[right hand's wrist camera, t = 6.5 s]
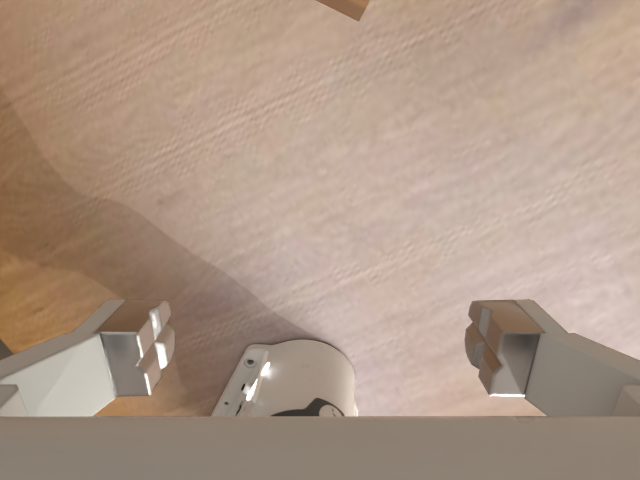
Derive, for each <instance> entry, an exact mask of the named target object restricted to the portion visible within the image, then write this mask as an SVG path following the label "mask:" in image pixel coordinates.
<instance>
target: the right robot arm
mask: <svg viewBox="0 0 640 480" xmlns="http://www.w3.org/2000/svg"><path fill="white" fill-rule="evenodd" d="M171 315H172V314H171V309H170V304H169V303H168V302H167V301H166V300H128V299H121V300H107V301H105V302H104V303H103V304H102V305H101V306H100V307H99V308H98V309H97V310H96V311H95V312H94V313H93V314H92V315H90V316H89V317H88V318H87V319H86V320H85V321H84V322H83V323H82V324H81V325H80V326H79V327H78V328H77V329H75V330H74V331H73V332H72V333H65V334H62V335H60V336H58V337H55V338H53V339H50V340H48V341H46V342H43V343H41V344H38V345H36V346H34V347H31V348H29V349H26V350H24V351H22V352H19V353H17V354H15V355H12V356H10V357H7V358H5V359H3V360H0V480H640V360H637V359H635V358H633V357H630V356H628V355H625V354H623V353H621V352H618V351H616V350H613V349H611V348H609V347H606V346H604V345H602V344H599V343H597V342H594V341H592V340H590V339H587V338H585V337H582V336H580V335H578V334H575V333H568V332H567V331H566V330H565V329H564V328H562V327H561V326H560V325H559V324H558V323H557V322H556V321H555V320H554V319H553V318H552V317H551V316H550V315H549V314H547V313H546V312H545V311H544V310H543V309H542V308H541V307H540V306H539V305H538V304H537V303H536V302H535V301H533V300H530V299H523V300H484V301H472V303H471V305H470V308H469V314H468V315H469V317H470V318H471V320H472V321H473V323H472V324H471V325H470V326H469V327H468V328H467V329H466V333H465V350H466V353H467V356H468V359H469V361H470V363H471V364H472V365H473V366H475V367H476V368H478V369H479V376H478V377H479V378H480V380H481V382H482V384H483V385H484V387H485V389H486V390H487V392H488V394H489V396H519V397H525V399H526V400H527V401H529V402H530V403H531V404H533V405H534V406H535V407H537V408H538V409H539V410H541V411H542V412H543V413H545V414H546V415H547V416H358V406H357V403H356V400H355V398H354V392H355V383H356V380H355V373H354V370H353V368H352V366H351V364H350V362H349V361H348V359H347V358H346V357H345V356H344V355H343V354H342V353H341V352H340V351H338V350H337V349H335V348H334V347H332V346H330V345H328V344H325V343H322V342H319V341H314V340H305V339H300V340H290V341H286V342H282V343H279V344H275V345H265V344H253V345H250V346H248V347H247V348H246V350H245V352H244V354H243V355H242V357H241V359H240V361H239V363H238V365H237V367H236V369H235V371H234V372H233V374H232V376H231V378H230V380H229V382H228V384H227V386H226V388H225V389H224V391H223V393H222V395H221V397H220V399H219V401H218V403H217V405H216V406H215V408H214V410H213V412H212V414H211V416H93V415H94V414H96V413H97V412H98V411H100V410H101V409H102V408H103V407H105V406H106V405H107V404H109V403H110V402H111V401H113V400H114V399H115V397H121V396H151V394H152V392H153V391H154V389H155V387H156V385H157V384H158V382H159V380H160V378H161V377H162V376H161V369H162V368H164V367H165V366H167V365H168V364H169V362H170V361H171V359H172V357H173V353H174V349H175V332H174V329H173V328H172V327H171V326H170V325H169V324H168V323H167V321H168V320H169V318H170V317H171ZM250 359H251V360H253V361H249V360H250Z"/></svg>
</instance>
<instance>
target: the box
mask: <svg viewBox="0 0 640 480" xmlns="http://www.w3.org/2000/svg"><path fill="white" fill-rule="evenodd" d="M317 1H319V2H321V3H323V4H325V5H327V6H329V7H331V8H333V9H335V10H337V11H339V12H341V13H343V14H345V15H347V16H349V17H351V18H353V19H355V20H357V21H360V19H361V17H362V15H363V13H364V11H365V9H366V7H367V5H368V3H369V1H370V0H317Z"/></svg>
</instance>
